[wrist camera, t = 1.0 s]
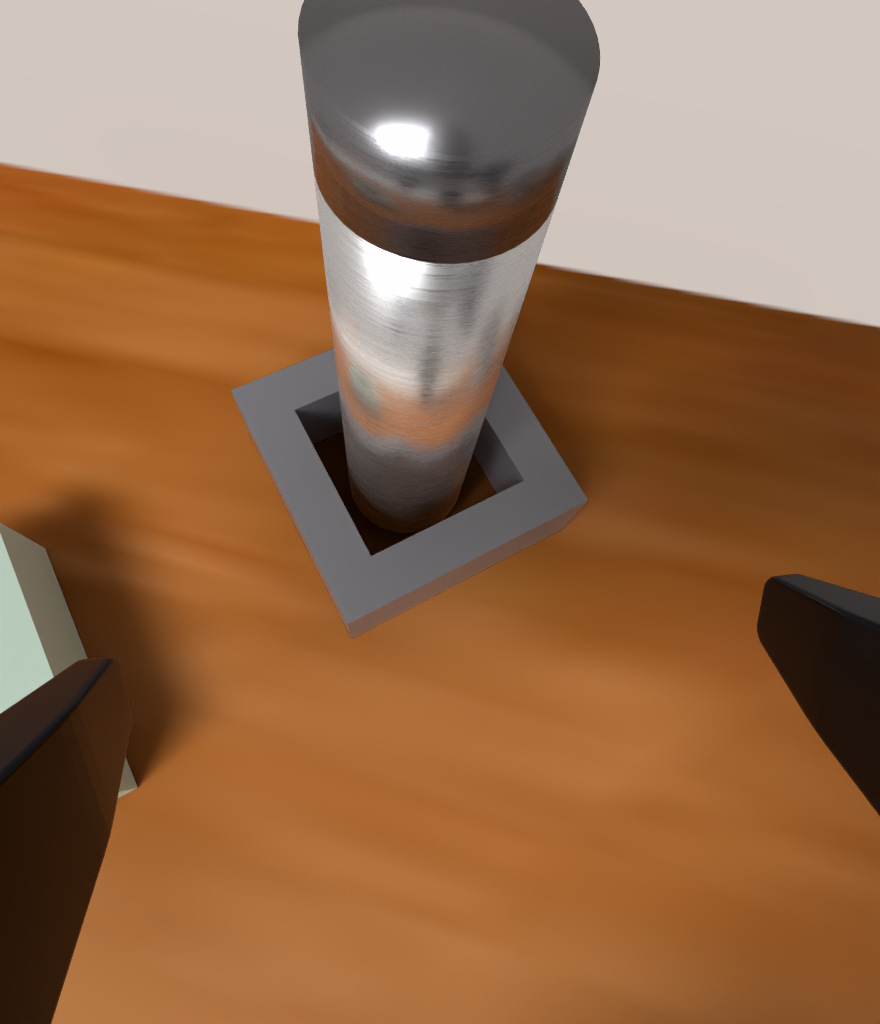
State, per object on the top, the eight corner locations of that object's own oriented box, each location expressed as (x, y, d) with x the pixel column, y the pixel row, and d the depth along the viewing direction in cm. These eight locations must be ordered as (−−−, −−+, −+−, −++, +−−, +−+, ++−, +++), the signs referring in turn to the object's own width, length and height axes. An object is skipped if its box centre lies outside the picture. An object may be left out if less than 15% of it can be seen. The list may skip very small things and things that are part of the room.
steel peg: (480, 503, 24) (657, 97, 9) (381, 552, 23) (386, 195, 8) (427, 413, 25) (504, -92, 10) (330, 456, 24) (248, -25, 9)
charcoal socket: (563, 528, 24) (588, 500, 21) (351, 638, 22) (347, 624, 19) (451, 345, 26) (459, 296, 23) (248, 431, 24) (230, 390, 21)
